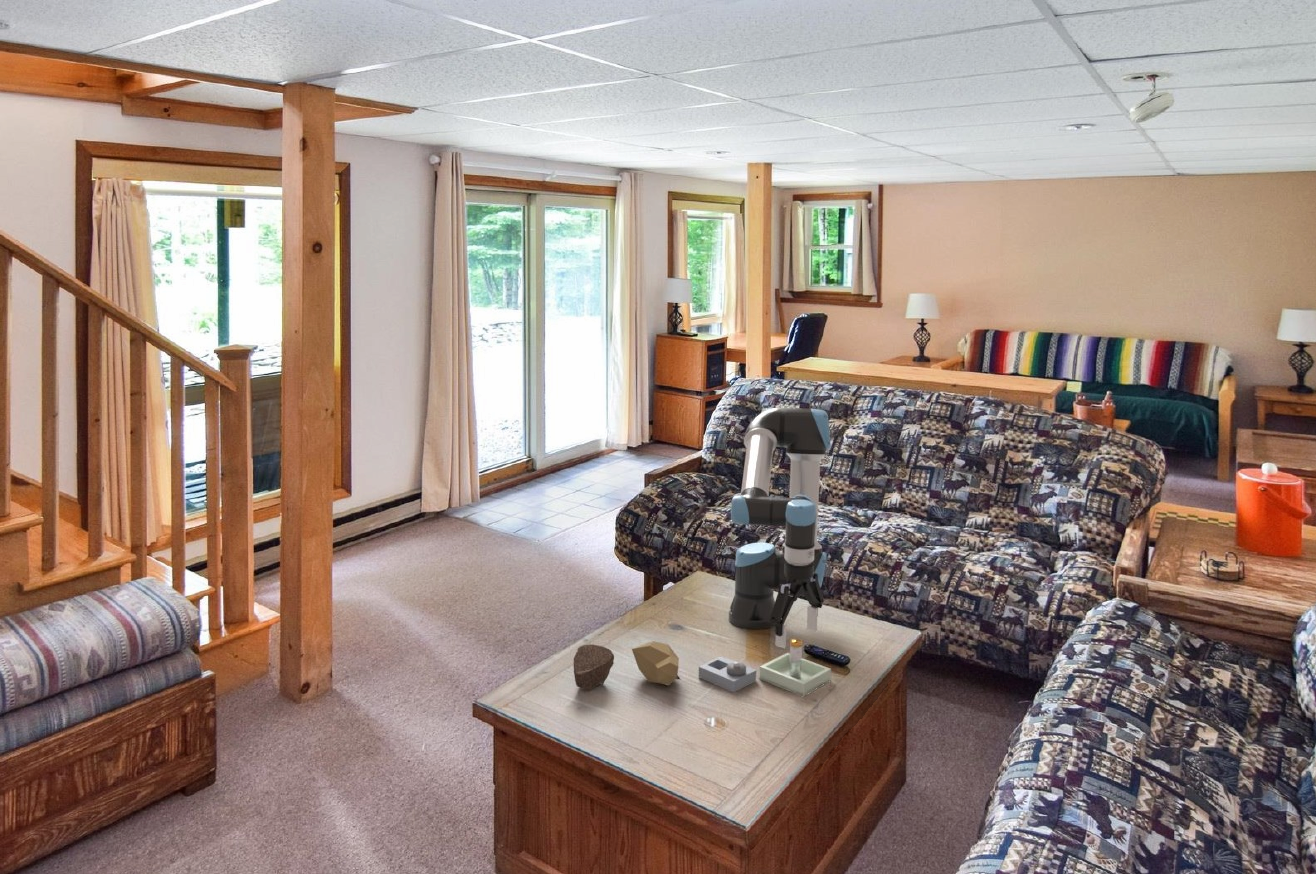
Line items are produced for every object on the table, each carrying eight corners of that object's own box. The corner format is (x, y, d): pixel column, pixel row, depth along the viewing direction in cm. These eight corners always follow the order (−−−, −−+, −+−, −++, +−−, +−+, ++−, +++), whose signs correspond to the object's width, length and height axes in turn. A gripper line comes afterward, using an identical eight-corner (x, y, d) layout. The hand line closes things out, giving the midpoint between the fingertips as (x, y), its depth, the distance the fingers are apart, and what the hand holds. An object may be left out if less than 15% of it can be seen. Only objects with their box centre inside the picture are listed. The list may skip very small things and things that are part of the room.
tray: (759, 679, 246) (759, 666, 245) (787, 664, 254) (787, 652, 254) (803, 696, 236) (803, 684, 236) (830, 681, 245) (830, 668, 244)
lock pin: (786, 677, 245) (788, 640, 243) (793, 673, 247) (794, 637, 245) (796, 681, 243) (797, 644, 241) (803, 677, 245) (804, 640, 243)
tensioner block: (698, 677, 247) (698, 657, 246) (720, 666, 253) (721, 647, 252) (733, 692, 239) (734, 672, 237) (755, 680, 245) (756, 661, 244)
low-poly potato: (636, 670, 251) (617, 666, 241) (656, 634, 252) (638, 629, 242) (680, 699, 244) (663, 697, 234) (701, 662, 245) (684, 658, 235)
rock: (587, 686, 231) (561, 656, 235) (577, 705, 238) (552, 676, 242) (622, 659, 239) (596, 631, 243) (612, 679, 246) (587, 651, 250)
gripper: (781, 577, 227) (778, 658, 232) (839, 552, 245) (835, 628, 250) (757, 569, 233) (754, 648, 237) (815, 545, 250) (812, 619, 255)
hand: (796, 638), depth 243 cm, fingers open, 13 cm apart
